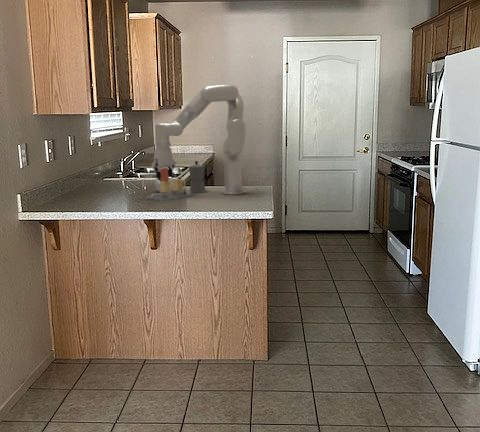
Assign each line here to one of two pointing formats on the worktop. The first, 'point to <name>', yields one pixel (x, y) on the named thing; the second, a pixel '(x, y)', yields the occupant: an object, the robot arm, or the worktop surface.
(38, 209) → the worktop surface
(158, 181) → the grey stapler
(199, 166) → the coffeepot
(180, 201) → the worktop surface
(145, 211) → the worktop surface
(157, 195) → the gauge plate
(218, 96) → the robot arm
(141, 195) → the worktop surface
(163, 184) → the block
